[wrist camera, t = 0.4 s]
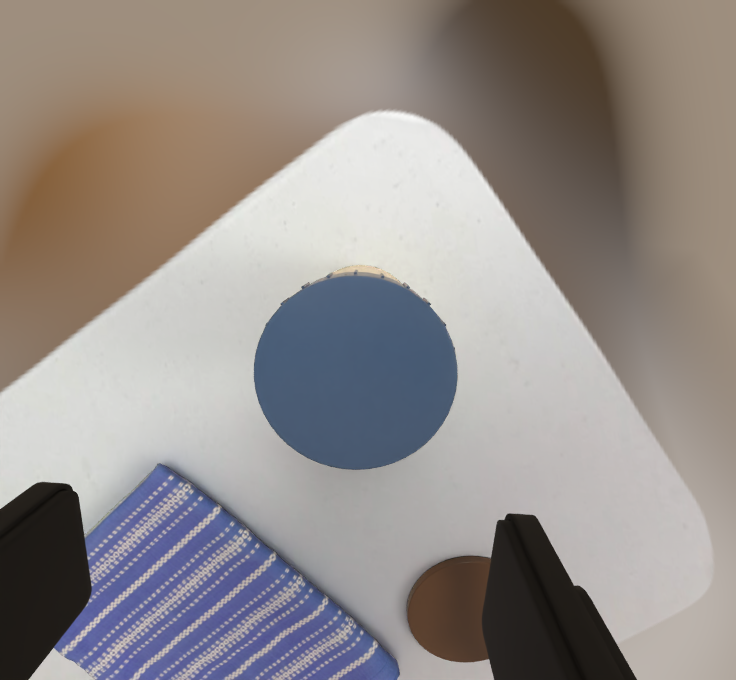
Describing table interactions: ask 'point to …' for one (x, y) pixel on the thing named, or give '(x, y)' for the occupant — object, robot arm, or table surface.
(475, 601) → the coaster
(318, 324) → the lid
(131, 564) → the dish towel
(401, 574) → the table surface
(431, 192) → the table surface
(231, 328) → the table surface
